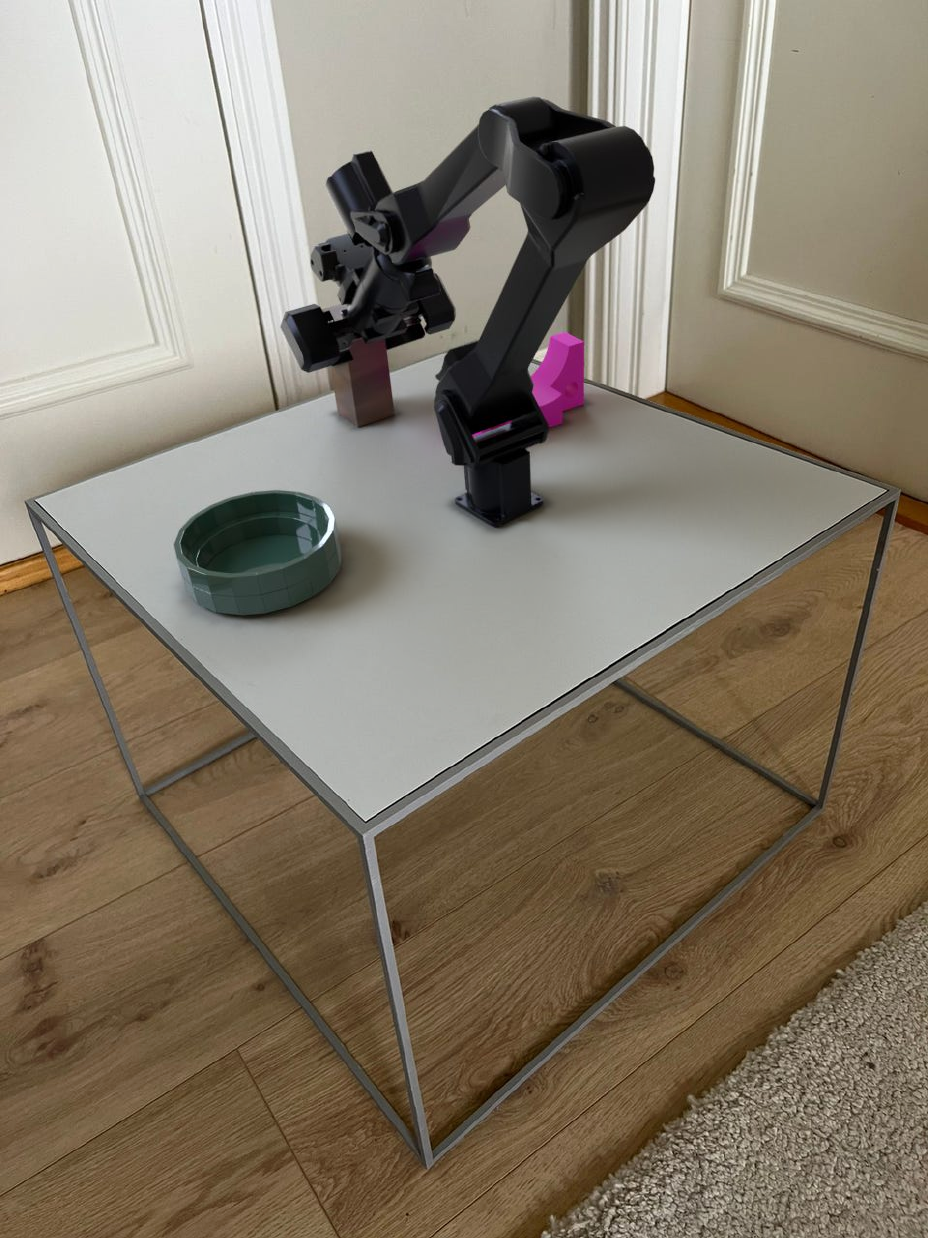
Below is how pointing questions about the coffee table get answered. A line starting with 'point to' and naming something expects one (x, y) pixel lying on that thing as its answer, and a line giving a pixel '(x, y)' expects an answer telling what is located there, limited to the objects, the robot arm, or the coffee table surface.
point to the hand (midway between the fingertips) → (352, 356)
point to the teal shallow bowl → (258, 552)
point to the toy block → (558, 379)
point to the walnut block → (362, 380)
